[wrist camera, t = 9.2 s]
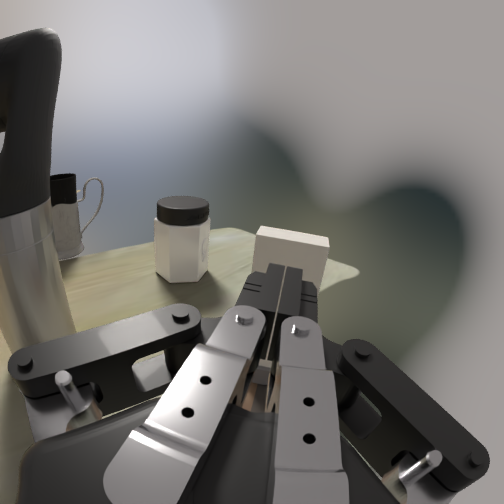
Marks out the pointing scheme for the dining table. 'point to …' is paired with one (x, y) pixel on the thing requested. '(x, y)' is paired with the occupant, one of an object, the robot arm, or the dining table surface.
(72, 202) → the glass holder
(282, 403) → the robot arm
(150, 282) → the dining table surface
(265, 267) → the white grey block
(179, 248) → the jar
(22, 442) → the dining table surface
